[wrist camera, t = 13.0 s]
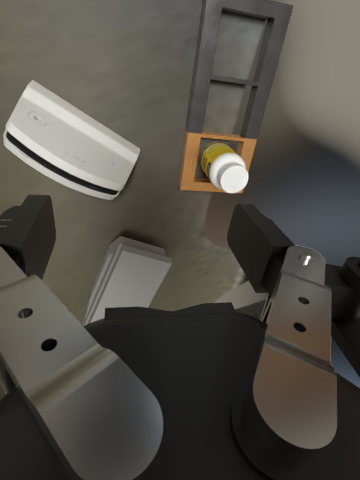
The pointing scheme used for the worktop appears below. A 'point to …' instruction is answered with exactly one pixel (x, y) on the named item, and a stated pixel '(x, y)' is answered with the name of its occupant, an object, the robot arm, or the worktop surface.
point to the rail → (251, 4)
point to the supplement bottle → (223, 167)
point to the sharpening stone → (126, 277)
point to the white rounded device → (68, 144)
